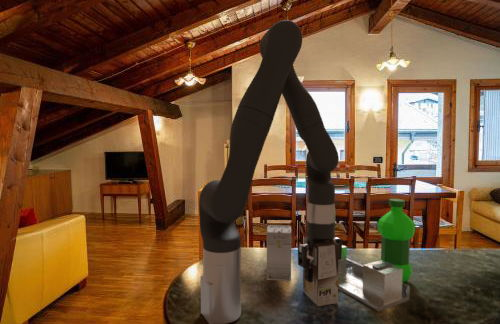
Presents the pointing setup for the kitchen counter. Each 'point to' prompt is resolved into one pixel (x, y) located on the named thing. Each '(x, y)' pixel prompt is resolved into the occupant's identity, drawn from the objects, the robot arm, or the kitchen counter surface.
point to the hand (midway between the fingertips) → (319, 278)
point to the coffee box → (323, 273)
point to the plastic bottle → (396, 237)
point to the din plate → (372, 282)
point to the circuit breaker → (279, 253)
